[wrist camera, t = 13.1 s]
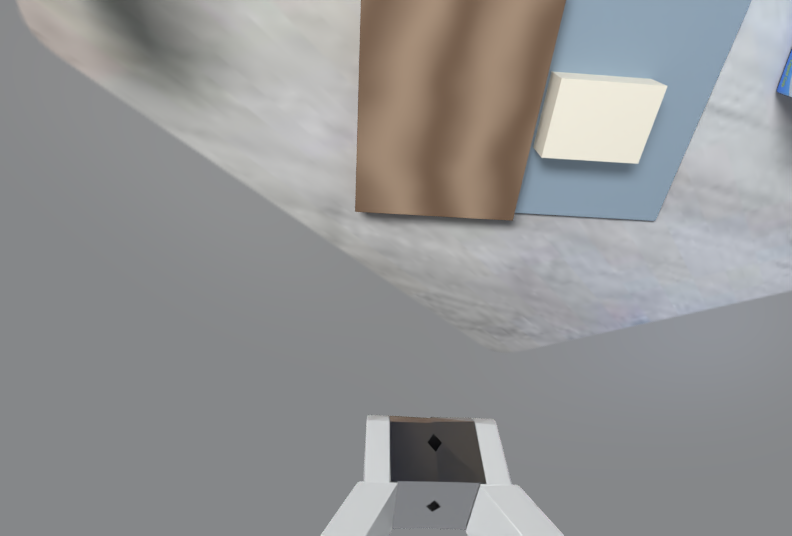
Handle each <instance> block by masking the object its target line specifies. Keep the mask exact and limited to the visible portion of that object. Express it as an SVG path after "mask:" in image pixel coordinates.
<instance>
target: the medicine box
mask: <svg viewBox="0 0 792 536" xmlns="http://www.w3.org/2000/svg"><path fill="white" fill-rule="evenodd" d="M777 92H778V93H780V94H783V95H786V96H789V97H792V50H791V53H790V56H789V58H788V61H787V64H786V66H785V69H784V72H783V74H782V77H781V80H780V83H779V85H778V88H777Z"/></svg>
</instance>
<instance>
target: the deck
mask: <svg viewBox="0 0 792 536" xmlns="http://www.w3.org/2000/svg"><path fill="white" fill-rule="evenodd" d="M565 3H566V0H361V19H360V56H359V92H358V129H357V165H356V202H355V212H371V213H388V214H406V215H424V216H441V217H459V218H477V219H494V220H512V221H513V217H514V213H515V209H516V205H517V201H518V197H519V193H520V188H521V184H522V180H523V176H524V172H525V168H526V164H527V160H528V155H529V151H530V147H531V143H532V139H533V135H534V131H535V127H536V122H537V118H538V114H539V110H540V106H541V102H542V98H543V94H544V89H545V85H546V81H547V77H548V73H549V69H550V65H551V61H552V56H553V52H554V48H555V44H556V40H557V36H558V32H559V28H560V23H561V19H562V15H563V11H564V7H565Z"/></svg>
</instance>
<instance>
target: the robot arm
mask: <svg viewBox="0 0 792 536" xmlns="http://www.w3.org/2000/svg"><path fill="white" fill-rule="evenodd" d="M366 427H367V428H366V442H365V443H366V444H365V459H364V460H365V461H364V481H363V482H358V483H357V484H356V485H355V487H354V488H353V490H352V491H351V493H350V494H349V495H348V497H347V498H346V500H345V501H344V503H343V504H342V505H341V507H340V508H339V510H338V511H337V513H336V514H335V515H334V517H333V518H332V520H331V521H330V523H329V524H328V525H327V527H326V528H325V530H324V531H323V533H322V534H321V535H320V536H389V535H390V533H391V531H392V529H400V528H440V529H460V530H466V533H467V535H468V536H564V535H563V534H562V533H561V532H560V530H559V529H558V528H557V527H556V526H555V525H554V524H553V523H552V522H551V521H550V520H549V518H548V517H547V516H546V515H545V514H544V513H543V512H542V511H541V510H540V509H539V507H538V506H537V505H536V504H535V503H534V502H533V501H532V500H531V498H530V497H529V496H528V495H527V494H526V493H525V492H524V491H523V490H522V489H521V487H520V486H519V485H512V483H511V479H510V475H509V471H508V467H507V463H506V459H505V455H504V451H503V448H502V443H501V439H500V436H499V431H498V428H497V424H496V422H495V420H494V419H476V418H475V419H474V418H473V419H472V418H451V417H450V418H448V417H431V418H418V417H402V416H381V415H368V416H367V426H366Z"/></svg>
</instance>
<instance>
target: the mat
mask: <svg viewBox="0 0 792 536" xmlns="http://www.w3.org/2000/svg"><path fill="white" fill-rule="evenodd" d="M750 3H751V0H566V3H565V7H564V11H563V15H562V19H561V23H560V28H559V32H558V36H557V40H556V44H555V48H554V52H553V56H552V61H551V65H550V69H549V73H548V77H547V81H546V85H545V89H544V94H543V98H542V102H541V106H540V110H539V114H538V118H537V122H536V127H535V131H534V135H533V139H532V143H531V147H530V151H529V155H528V160H527V164H526V168H525V172H524V176H523V180H522V184H521V188H520V193H519V197H518V201H517V205H516V209H515V213H528V214H545V215H563V216H580V217H598V218H615V219H632V220H650V221H655V220H656V218H657V216H658V213H659V211H660V209H661V206H662V204H663V202H664V200H665V197H666V195H667V193H668V190H669V188H670V186H671V184H672V181H673V179H674V177H675V174H676V172H677V170H678V168H679V165H680V163H681V161H682V158H683V156H684V154H685V151H686V149H687V147H688V145H689V142H690V140H691V138H692V135H693V133H694V131H695V129H696V126H697V124H698V122H699V119H700V117H701V115H702V113H703V110H704V108H705V106H706V103H707V101H708V99H709V97H710V94H711V92H712V90H713V87H714V85H715V83H716V81H717V78H718V76H719V74H720V71H721V69H722V67H723V65H724V62H725V60H726V58H727V55H728V53H729V51H730V48H731V46H732V44H733V42H734V39H735V37H736V35H737V32H738V30H739V28H740V26H741V23H742V21H743V19H744V16H745V14H746V12H747V10H748V7H749V5H750ZM551 71H552V72H565V73H579V74H592V75H606V76H620V77H633V78H647V79H653V80H655V81H657V82H660V83H662V84H664V85H667V89H666V92H665V94H664V97H663V100H662V102H661V105H660V107H659V110H658V113H657V115H656V118H655V121H654V123H653V126H652V129H651V131H650V134H649V136H648V139H647V142H646V144H645V147H644V150H643V152H642V155H641V157H640V160H639V163H638V164H635V163H619V162H603V161H587V160H571V159H555V158H541V156H540V155H539V154H538V153H537V151H536V150H535V149H534V148H533V145H534V141H535V137H536V133H537V129H538V125H539V121H540V117H541V112H542V108H543V104H544V100H545V96H546V92H547V88H548V84H549V79H550V75H551Z"/></svg>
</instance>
